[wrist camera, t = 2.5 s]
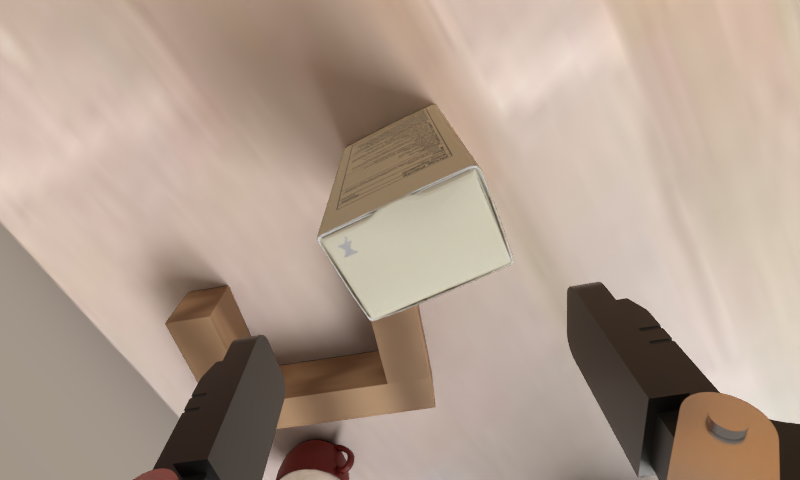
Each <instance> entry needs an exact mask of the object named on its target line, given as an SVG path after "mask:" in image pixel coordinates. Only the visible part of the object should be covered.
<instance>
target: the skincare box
mask: <svg viewBox="0 0 800 480" xmlns="http://www.w3.org/2000/svg"><path fill="white" fill-rule="evenodd" d="M317 241H318V242H319V244H320V245H321V247H322V249H323V250H324V252H325V253H326V255H327V257H328V259H329V260H330V262H331V263H332V265H333V266H334V268H335V270H336V272H337V273H338V275H339V276H340V278H341V279H342V281H343V282H344V284H345V286H346V287H347V289H348V290H349V292H350V293H351V295H352V296H353V298H354V299H355V301H356V302H357V304H358V305H359V306H360V308H361V309H362V310H363V312H364V313H365V315H366V316H367V318H368V319H369V320H370V321H375V320H378V319H381V318H384V317H387V316H390V315H392V314H395V313H398V312H401V311H403V310H406V309H408V308H411V307H413V306H416V305H418V304H421V303H423V302H426V301H428V300H430V299H433V298H436V297H438V296H440V295H443V294H445V293H447V292H450V291H452V290H455V289H457V288H459V287H462V286H464V285H466V284H469V283H471V282H473V281H476V280H478V279H480V278H482V277H484V276H487V275H489V274H491V273H494V272H496V271H498V270H500V269H502V268H505V267H507V266H509V265H512V264H513V263H514V258H513V255H512V252H511V250H510V247H509V244H508V241H507V238H506V234H505V231H504V229H503V226H502V223H501V220H500V217H499V215H498V212H497V209H496V206H495V204H494V201H493V198H492V196H491V193H490V191H489V188H488V186H487V183H486V180H485V178H484V175H483V173H482V170H481V168H480V167H479V165H478V164H477V163H476V161H475V160H474V158H473V157H472V156H471V154H470V153H469V151H468V150H467V148H466V147H465V146H464V144H463V143H462V141H461V140H460V138H459V137H458V136H457V134H456V133H455V131H454V130H453V128H452V127H451V125H450V124H449V123H448V121H447V120H446V118H445V116H444V115H443V114H442V113H441V111H440V110H439V108H438V107H437V106H436V105H430V106H428V107H426V108H424V109H421V110H419V111H417V112H415V113H413V114H410V115H408V116H406V117H404V118H402V119H400V120H398V121H396V122H394V123H392V124H390V125H388V126H386V127H384V128H382V129H380V130H378V131H376V132H374V133H372V134H370V135H368V136H366V137H364V138H363V139H361V140H359V141H357V142H355V143H353V144H352V145H350V146H348V147H346V148H345V149H344V152H343V155H342V158H341V162H340V165H339V168H338V171H337V175H336V178H335V181H334V184H333V188H332V191H331V194H330V197H329V200H328V203H327V207H326V210H325V213H324V217H323V220H322V223H321V226H320V229H319V232H318V235H317Z"/></svg>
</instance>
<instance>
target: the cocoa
mask: <svg viewBox="0 0 800 480" xmlns="http://www.w3.org/2000/svg"><path fill="white" fill-rule="evenodd" d="M341 451H344V452H346V453H347V455H348V460H347V462H346V460H345V458H344V456H343V454H342V452H341ZM353 463H354V455H353V452H352V451H351V450H349V449H348V448H346V447H345V446H342V445H338V444H337V445H333V444H332V443H329V442H325V441H322V440H309V441H306V442H303V443H300V444H298V445H297V446H296V447H294V448H293V449H292V450H291V451H290V452H289V453H288V454H287V456H286V457H285V459H284V461H283V463H282V465H281V467H280V469H279V471H278V474H277V478H276V480H349V473H348V471H349V470H350V469H351V467H352V466H353Z"/></svg>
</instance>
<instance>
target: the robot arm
mask: <svg viewBox="0 0 800 480" xmlns="http://www.w3.org/2000/svg"><path fill="white" fill-rule="evenodd" d="M567 337H568V343H569V347H570V350H571V353H572V355H573V357H574V359H575V361H576V363H577V365H578V367H579V369H580V371H581V372H582V374H583V376H584V378H585V380H586V382H587V384H588V385H589V387H590V389H591V391H592V393H593V395H594V397H595V398H596V400H597V402H598V404H599V406H600V408H601V410H602V411H603V413H604V415H605V417H606V419H607V421H608V423H609V424H610V426H611V428H612V430H613V432H614V434H615V435H616V437H617V439H618V441H619V443H620V445H621V447H622V448H623V450H624V452H625V454H626V456H627V458H628V460H629V461H630V463H631V465H632V467H633V469H634V471H635V473H636V474H637V476H638V477H645V476H653V475H657V477H658V479H659V480H800V424H794V423H786V422H779V421H774V420H770V419H768V418H767V417H766V416H765V415H764V414H763V413H762V412H761V411H760V410H758V409H757V408H755V407H754V406H752V405H751V404H749V403H747V402H745V401H743V400H741V399H739V398H736V397H733V396H730V395H727V394H722V393H720V392H719V391H718V390H717V389H716V388H715V387H714V386H713V385H712V383H711V382H710V381H709V380H708V379H707V378H706V377H705V375H704V374H703V373H702V372H701V371H700V370H699V369H698V367H697V366H696V365H695V364H694V363H693V362H692V361H691V359H690V358H689V357H688V356H687V355H686V354H685V353H684V352H683V350H682V349H681V348H680V347H679V346H678V345H677V344H676V342H675V341H672V338H671V337H670V336H669V334H668V333H667V332H666V331H665V330H664V329H663V328H661V327H660V324H659V323H658V322H657V321H656V320H655V318H654V317H653V316H652V315H651V314H650V313H649V312H648V311H647V310H646V309H644V308H643V307H641V306H639V305H638V304H636V303H634V302H632V301H631V300H629V299H627V298H626V299H620V300H616V299H615V298H614V297H613V296H612V294H611V293H610V292H609V291H608V289H607V288H606V287H605V286H604V285H603V284H602V283H601V282H596V283H589V284H583V285H577V286H571V287H569V288H568V292H567ZM284 398H285V382H284V377H283V374H282V372H281V370H280V367H279V365H278V363H277V360H276V358H275V356H274V353H273V351H272V349H271V346H270V344H269V342H268V340H267V338H266V337H265V336H264V335H259V336H253V337H246V338H240V339H235V340H233V342H232V343H231V345H230V347H229V349H228V351H227V353H226V355H225V357H224V359H223V361H218V362H216V363H215V364H214V365H213V366H212V367H211V368H210V369H209V370H208V371H207V372H206V373H205V374H204V375H203V376H202V377H201V379H200V381H199V383H198V385H197V386H196V388H195V390H194V392H193V394H192V398H191V399H190V400H189V402H188V404H187V405H186V407H185V409H184V410H185V412H184V413H182V415H181V417H180V419H179V421H178V423H177V425H176V426H175V428H174V430H173V432H172V434H171V436H170V438H169V440H168V442H167V443H166V445H165V447H164V449H163V451H162V453H161V455H160V457H159V459H158V461H157V463H156V464H155V466H154V468H153V470H151V471H148V472H146V473H144V474H142V475H140V476H138V477H137V478H135V479H134V480H262V478H263V475H264V471H265V467H266V464H267V460H268V457H269V453H270V449H271V446H272V442H273V439H274V435H275V431H276V428H277V424H278V421H279V417H280V413H281V410H282V406H283V403H284Z"/></svg>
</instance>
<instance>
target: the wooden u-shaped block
mask: <svg viewBox="0 0 800 480" xmlns="http://www.w3.org/2000/svg"><path fill="white" fill-rule="evenodd" d="M371 323H372V327H373V331H374V335H375V338H376V342H377V346H378V349H379V351H375V352H368V353H361V354H355V355H348V356H341V357H334V358H328V359H321V360H314V361H308V362H301V363H294V364H287V365H281V366H279V367H280V370H281V372H282V374H283V377H284V382H285V398H284V403H283V406H282V410H281V413H280V417H279V421H278V424H277V428H276V429H281V428H289V427H296V426H303V425H310V424H318V423H325V422H332V421H339V420H347V419H354V418H361V417H368V416H375V415H383V414H390V413H397V412H404V411H412V410H419V409H426V408H433V407H435V398H434V389H433V380H432V371H431V366H430V361H429V356H428V351H427V346H426V341H425V336H424V331H423V325H422V320H421V315H420V310H419V305H416V306H413V307H411V308H408V309H406V310H403V311H401V312H398V313H395V314H392V315H390V316H387V317H384V318H381V319H378V320H375V321H371ZM165 324H166V326H167V328H168V330H169V332H170V333H171V335H172V337H173V339H174V341H175V342H176V344H177V346H178V348H179V350H180V351H181V353H182V355H183V357H184V358H185V360H186V362H187V364H188V366H189V367H190V369H191V371H192V373H193V375H194V376H195V378H196V380H197V382H198V383H199V381H200V379H201V377H202V376H203V375H204V374H205V373H206V372H207V371H208V370H209V369H210V368H211V367H212V366H213V365H214V364H215V363H216V362H218V361H223V359H224V357H225V355H226V353H227V351H228V349H229V347H230V345H231V343H232V342H233V340H235V339H240V338H246V337H251V335H250V333H249V330H248V328H247V326H246V324H245V321H244V319H243V317H242V315H241V313H240V310H239V308H238V306H237V304H236V301H235V299H234V297H233V295H232V292H231V290H230V288H229V286H223V287H217V288H211V289H205V290H199V291H193V292H188V293H187V295H186V296H185V298H184V299H183V300H182V302H181V303H180V304H179V306H178V307H177V308H176V310H175V311H174V312H173V314H172V315H171V316H170V318H169V319H168V320H167V322H166V323H165Z"/></svg>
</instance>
